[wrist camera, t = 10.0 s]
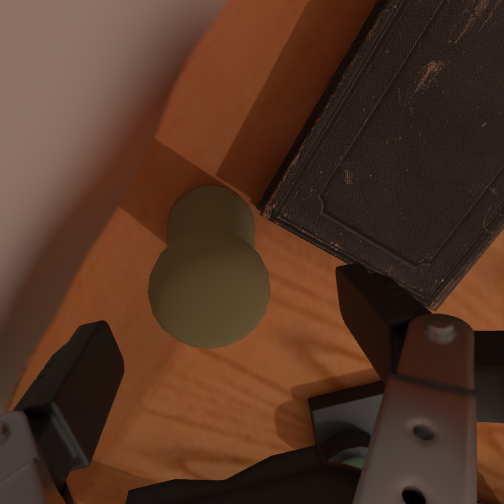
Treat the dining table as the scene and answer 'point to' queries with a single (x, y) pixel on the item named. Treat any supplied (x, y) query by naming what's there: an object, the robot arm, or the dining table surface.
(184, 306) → the cork
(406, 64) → the hardcover book
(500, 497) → the dining table surface
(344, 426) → the dark grey button base
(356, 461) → the tare button
